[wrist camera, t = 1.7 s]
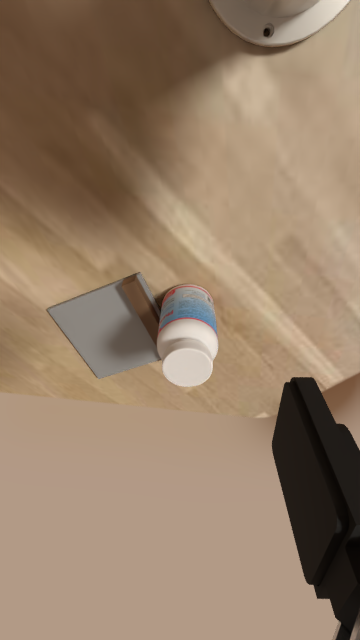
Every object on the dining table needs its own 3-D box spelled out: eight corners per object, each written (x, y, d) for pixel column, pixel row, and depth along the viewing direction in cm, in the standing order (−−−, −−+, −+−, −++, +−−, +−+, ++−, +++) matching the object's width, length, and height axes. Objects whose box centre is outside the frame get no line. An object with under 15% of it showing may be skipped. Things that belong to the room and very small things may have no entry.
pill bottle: (162, 280, 37) (152, 339, 28) (216, 283, 37) (224, 343, 28) (161, 325, 40) (153, 391, 31) (211, 327, 40) (217, 394, 31)
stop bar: (136, 273, 36) (134, 281, 35) (178, 351, 42) (178, 361, 41) (124, 278, 37) (121, 286, 35) (167, 354, 43) (166, 364, 41)
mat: (140, 271, 36) (139, 273, 36) (181, 350, 42) (181, 352, 42) (48, 307, 39) (47, 309, 39) (99, 376, 45) (98, 379, 45)
